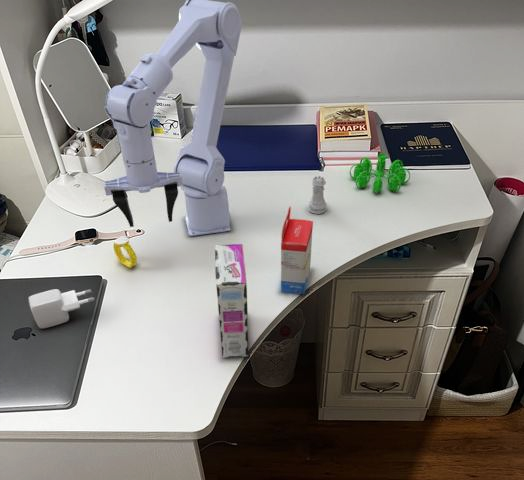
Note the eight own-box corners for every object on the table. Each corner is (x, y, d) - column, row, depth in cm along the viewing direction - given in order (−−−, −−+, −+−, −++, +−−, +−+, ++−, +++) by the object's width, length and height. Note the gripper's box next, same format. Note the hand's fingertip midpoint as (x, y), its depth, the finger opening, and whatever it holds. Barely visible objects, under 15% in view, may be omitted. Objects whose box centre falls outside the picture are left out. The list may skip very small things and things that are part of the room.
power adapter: (94, 300, 105) (86, 276, 101) (99, 315, 102) (92, 291, 98) (36, 317, 102) (25, 293, 98) (39, 333, 99) (29, 309, 95)
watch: (141, 267, 113) (136, 243, 109) (131, 273, 111) (125, 249, 107) (124, 256, 116) (118, 232, 111) (114, 261, 114) (107, 238, 110)
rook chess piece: (304, 212, 127) (306, 181, 121) (311, 203, 130) (312, 172, 124) (323, 216, 125) (325, 184, 120) (328, 206, 128) (331, 175, 123)
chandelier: (345, 193, 133) (348, 167, 128) (352, 165, 143) (355, 140, 138) (407, 199, 130) (412, 173, 125) (409, 170, 140) (414, 144, 135)
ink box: (304, 295, 105) (307, 231, 95) (280, 292, 106) (280, 228, 96) (310, 269, 111) (314, 206, 101) (287, 267, 112) (288, 204, 101)
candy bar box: (250, 357, 94) (247, 283, 82) (222, 359, 94) (214, 285, 82) (246, 315, 102) (243, 242, 90) (220, 317, 101) (213, 243, 90)
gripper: (98, 171, 94) (114, 237, 104) (180, 162, 96) (189, 227, 106) (98, 154, 99) (113, 218, 109) (176, 145, 101) (185, 209, 111)
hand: (151, 221), depth 108 cm, fingers open, 7 cm apart
